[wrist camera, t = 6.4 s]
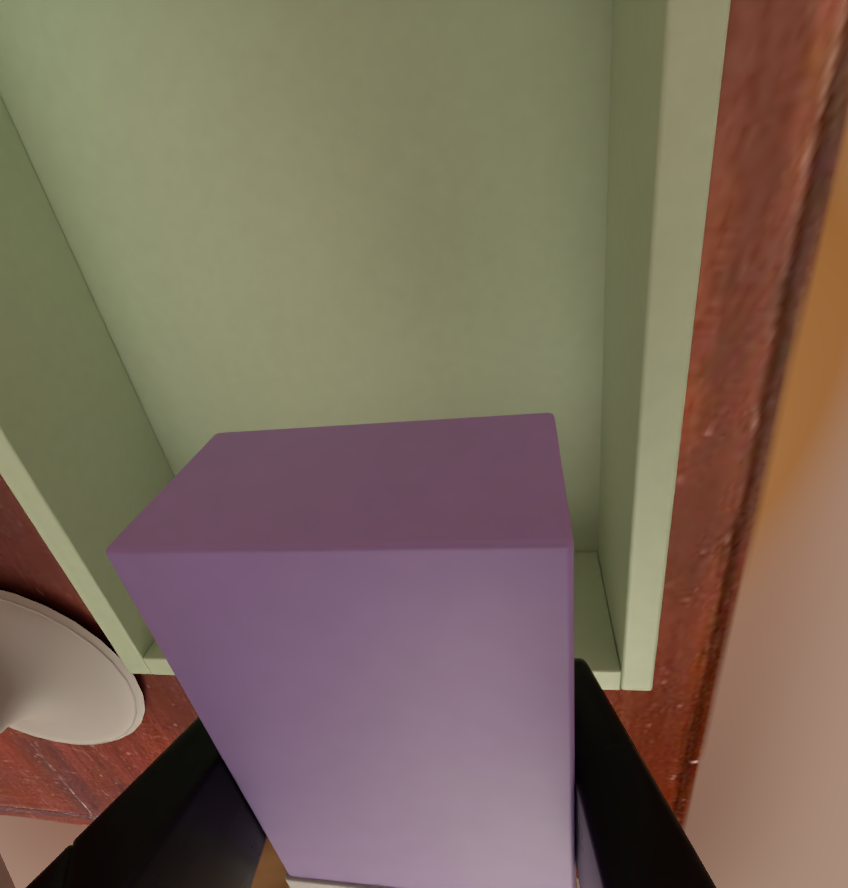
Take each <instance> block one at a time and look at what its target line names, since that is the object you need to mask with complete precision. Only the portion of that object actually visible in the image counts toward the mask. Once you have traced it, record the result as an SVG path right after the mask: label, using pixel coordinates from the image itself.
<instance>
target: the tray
mask: <svg viewBox="0 0 848 888" xmlns="http://www.w3.org/2000/svg"><path fill="white" fill-rule="evenodd" d="M730 2H731V0H0V474H1V476H2V477H3V479H4V480H5V482H6V483H7V485H8V486H9V488H10V489H11V491H12V493H13V494H14V496H15V497H16V499H17V500H18V502H19V503H20V505H21V506H22V508H23V509H24V511H25V513H26V514H27V516H28V517H29V519H30V520H31V522H32V523H33V525H34V526H35V528H36V529H37V531H38V533H39V534H40V536H41V537H42V539H43V540H44V542H45V543H46V545H47V546H48V548H49V549H50V551H51V552H52V554H53V556H54V557H55V559H56V560H57V562H58V563H59V565H60V566H61V568H62V569H63V571H64V572H65V574H66V576H67V577H68V579H69V580H70V582H71V583H72V585H73V586H74V588H75V589H76V591H77V592H78V594H79V596H80V597H81V599H82V600H83V602H84V603H85V605H86V606H87V608H88V609H89V611H90V612H91V614H92V616H93V617H94V619H95V620H96V622H97V623H98V625H99V626H100V628H101V629H102V631H103V632H104V634H105V636H106V637H107V639H108V640H109V642H110V643H111V645H112V646H113V648H114V649H115V651H116V652H117V654H118V656H119V657H120V659H121V660H122V662H123V663H124V665H125V666H126V668H127V669H128V671H129V672H130V673H131V674H160V675H175V674H174V672H173V671H172V669H171V667H170V665H169V664H168V662H167V660H166V658H165V657H164V655H163V653H162V651H161V650H160V648H159V646H158V644H157V642H156V641H155V639H154V637H153V635H152V634H151V632H150V630H149V628H148V627H147V625H146V623H145V621H144V620H143V618H142V616H141V614H140V613H139V611H138V609H137V607H136V606H135V604H134V602H133V600H132V599H131V597H130V595H129V593H128V592H127V590H126V588H125V586H124V585H123V583H122V581H121V579H120V578H119V576H118V574H117V572H116V571H115V569H114V567H113V565H112V564H111V562H110V560H109V558H108V556H107V555H106V549H107V547H108V546H109V545H110V544H111V542H112V541H113V540H114V539H115V538H116V537H117V536H118V535H119V534H120V533H121V532H122V531H123V530H124V529H125V528H126V527H127V526H128V525H129V524H130V523H131V522H132V521H133V520H134V519H135V517H136V516H137V515H138V514H139V513H140V512H141V511H142V510H143V509H144V508H145V507H146V506H147V505H148V504H149V503H150V502H151V501H152V500H153V499H154V498H155V497H156V496H157V495H158V494H159V492H160V491H161V490H162V489H163V488H164V487H165V486H166V485H167V484H168V483H169V482H170V481H171V480H172V479H173V478H174V477H175V476H176V475H177V474H178V473H179V472H180V471H181V470H182V468H183V467H184V466H185V465H186V464H187V463H188V462H189V461H190V460H191V459H192V458H193V457H194V456H195V455H196V454H197V453H198V452H199V451H200V450H201V449H202V448H203V447H204V446H205V445H206V443H207V442H208V441H209V440H210V439H211V438H212V437H213V436H214V435H215V434H217V433H225V432H241V431H258V430H274V429H290V428H307V427H323V426H339V425H356V424H372V423H388V422H405V421H421V420H437V419H454V418H470V417H486V416H503V415H519V414H535V413H552V414H553V415H554V417H555V422H556V429H557V435H558V442H559V448H560V455H561V462H562V468H563V475H564V481H565V488H566V495H567V501H568V508H569V514H570V521H571V528H572V534H573V541H574V658H582V659H584V660H585V661H586V662H587V664H588V665H589V667H590V669H591V670H592V672H593V674H594V676H595V677H596V679H597V681H598V683H599V684H600V686H601V688H602V690H620V687H621V689H623V690H644V691H650V690H652V685H653V676H654V667H655V659H656V650H657V641H658V632H659V624H660V615H661V606H662V597H663V589H664V580H665V571H666V562H667V554H668V545H669V536H670V527H671V519H672V510H673V501H674V492H675V484H676V475H677V466H678V457H679V449H680V440H681V431H682V422H683V414H684V405H685V396H686V387H687V378H688V370H689V361H690V352H691V343H692V335H693V326H694V317H695V308H696V300H697V291H698V282H699V273H700V265H701V256H702V247H703V238H704V230H705V221H706V212H707V203H708V195H709V186H710V177H711V168H712V160H713V151H714V142H715V133H716V125H717V116H718V107H719V98H720V90H721V81H722V72H723V63H724V55H725V46H726V37H727V28H728V20H729V11H730Z"/></svg>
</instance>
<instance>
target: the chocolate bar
mask: <svg viewBox="0 0 848 888" xmlns="http://www.w3.org/2000/svg"><path fill="white" fill-rule="evenodd" d="M106 555H107V556H108V558H109V560H110V562H111V564H112V565H113V567H114V569H115V571H116V572H117V574H118V576H119V578H120V579H121V581H122V583H123V585H124V586H125V588H126V590H127V592H128V593H129V595H130V597H131V599H132V600H133V602H134V604H135V606H136V607H137V609H138V611H139V613H140V614H141V616H142V618H143V620H144V621H145V623H146V625H147V627H148V628H149V630H150V632H151V634H152V635H153V637H154V639H155V641H156V642H157V644H158V646H159V648H160V650H161V651H162V653H163V655H164V657H165V658H166V660H167V662H168V664H169V665H170V667H171V669H172V671H173V672H174V674H175V676H176V678H177V679H178V681H179V683H180V685H181V686H182V688H183V690H184V692H185V693H186V695H187V697H188V699H189V700H190V702H191V704H192V706H193V707H194V709H195V711H196V713H197V714H198V716H199V718H200V720H201V721H202V723H203V725H204V727H205V728H206V730H207V732H208V734H209V735H210V737H211V739H212V741H213V743H214V744H215V746H216V748H217V750H218V751H219V753H220V755H221V757H222V758H223V760H224V762H225V764H226V765H227V767H228V769H229V771H230V772H231V774H232V776H233V778H234V779H235V781H236V783H237V785H238V786H239V788H240V790H241V792H242V793H243V795H244V797H245V799H246V800H247V802H248V804H249V806H250V807H251V809H252V811H253V813H254V814H255V816H256V818H257V820H258V821H259V823H260V825H261V827H262V829H263V830H264V832H265V834H266V836H267V837H268V839H269V841H270V843H271V844H272V846H273V848H274V850H275V851H276V853H277V855H278V857H279V858H280V860H281V862H282V864H283V865H284V867H285V869H286V871H287V873H286V877H285V880H286V882H287V883H288V885H289V887H290V888H577V881H576V869H575V726H574V541H573V534H572V528H571V521H570V514H569V508H568V501H567V495H566V488H565V481H564V475H563V468H562V462H561V455H560V448H559V442H558V435H557V429H556V422H555V417H554V415H553V414H552V413H535V414H519V415H503V416H486V417H470V418H454V419H437V420H421V421H405V422H388V423H372V424H356V425H339V426H323V427H307V428H290V429H274V430H258V431H241V432H225V433H217V434H215V435H214V436H213V437H212V438H211V439H210V440H209V441H208V442H207V443H206V445H205V446H204V447H203V448H202V449H201V450H200V451H199V452H198V453H197V454H196V455H195V456H194V457H193V458H192V459H191V460H190V461H189V462H188V463H187V464H186V465H185V466H184V467H183V468H182V470H181V471H180V472H179V473H178V474H177V475H176V476H175V477H174V478H173V479H172V480H171V481H170V482H169V483H168V484H167V485H166V486H165V487H164V488H163V489H162V490H161V491H160V492H159V494H158V495H157V496H156V497H155V498H154V499H153V500H152V501H151V502H150V503H149V504H148V505H147V506H146V507H145V508H144V509H143V510H142V511H141V512H140V513H139V514H138V515H137V516H136V517H135V519H134V520H133V521H132V522H131V523H130V524H129V525H128V526H127V527H126V528H125V529H124V530H123V531H122V532H121V533H120V534H119V535H118V536H117V537H116V538H115V539H114V540H113V541H112V542H111V544H110V545H109V546H108V547H107V549H106Z"/></svg>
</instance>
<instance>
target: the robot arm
mask: <svg viewBox="0 0 848 888" xmlns="http://www.w3.org/2000/svg"><path fill="white" fill-rule="evenodd" d="M574 726H575V862H576V867H577V873H578V879H579V884H580V888H716V886H715V885H714V883H713V881H712V879H711V878H710V876H709V874H708V872H707V871H706V869H705V867H704V865H703V864H702V862H701V861H700V859H699V857H698V855H697V853H696V852H695V850H694V848H693V846H692V845H691V843H690V841H689V839H688V838H687V836H686V834H685V832H684V831H683V829H682V827H681V825H680V824H679V822H678V820H677V818H676V817H675V815H674V813H673V811H672V810H671V808H670V806H669V805H668V803H667V801H666V799H665V798H664V796H663V794H662V792H661V791H660V789H659V787H658V785H657V784H656V782H655V780H654V778H653V777H652V775H651V773H650V771H649V770H648V768H647V766H646V764H645V763H644V761H643V759H642V758H641V756H640V754H639V752H638V751H637V749H636V747H635V745H634V744H633V742H632V740H631V738H630V737H629V735H628V733H627V731H626V730H625V728H624V726H623V724H622V723H621V721H620V719H619V717H618V716H617V714H616V712H615V711H614V709H613V707H612V705H611V704H610V702H609V700H608V698H607V697H606V695H605V693H604V691H603V690H602V688H601V686H600V684H599V683H598V681H597V679H596V677H595V676H594V674H593V672H592V670H591V669H590V667H589V665H588V664H587V662H586V661H585V660H584V659H582V658H574ZM266 838H267V836H266V834H265V832H264V830H263V829H262V827H261V825H260V823H259V821H258V820H257V818H256V816H255V814H254V813H253V811H252V809H251V807H250V806H249V804H248V802H247V800H246V799H245V797H244V795H243V793H242V792H241V790H240V788H239V786H238V785H237V783H236V781H235V779H234V778H233V776H232V774H231V772H230V771H229V769H228V767H227V765H226V764H225V762H224V760H223V758H222V757H221V755H220V753H219V751H218V750H217V748H216V746H215V744H214V743H213V741H212V739H211V737H210V735H209V734H208V732H207V730H206V728H205V727H204V725H203V723H202V721H201V720H200V718H199V717H198V718H197V719H196V720H195V721H194V722H193V723H192V724H191V725H190V726H189V727H188V728H187V729H186V730H185V731H184V732H183V733H182V734H181V735H180V736H179V737H178V738H177V739H176V740H175V741H174V742H173V743H172V744H171V745H170V746H169V747H168V748H167V749H166V750H165V751H164V752H163V753H162V754H161V755H160V756H159V757H158V758H157V759H156V760H155V761H154V762H153V763H152V764H151V765H150V766H149V767H148V768H147V769H146V770H145V771H144V772H143V773H142V774H141V775H140V776H139V777H138V778H137V779H136V780H135V781H134V782H133V783H132V784H131V785H130V786H129V787H128V788H127V789H126V790H125V791H124V792H123V793H122V794H121V795H120V796H119V797H118V798H116V799H115V800H114V801H113V802H112V803H111V804H110V805H109V806H108V807H107V808H106V809H105V810H104V811H103V812H102V813H101V814H100V815H99V816H98V817H97V818H96V819H95V820H94V821H93V822H92V823H91V824H90V825H89V826H88V827H87V828H86V829H85V830H84V831H83V832H82V833H81V834H80V835H79V836H78V837H77V838H76V839H75V841H74V843H73V845H70V846H68V847H67V848H66V849H65V850H64V851H63V852H62V853H61V854H60V855H59V856H58V857H57V858H56V859H55V860H54V861H53V862H52V863H51V864H50V865H49V866H48V867H47V868H46V869H45V870H44V871H43V872H42V873H40V875H38V876H37V877H36V878H35V879H34V880H33V881H32V882H31V883H30V884H29V885H28V886H27V887H26V888H251V886H252V883H253V880H254V877H255V873H256V870H257V867H258V864H259V861H260V858H261V854H262V851H263V848H264V845H265V842H266Z"/></svg>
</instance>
